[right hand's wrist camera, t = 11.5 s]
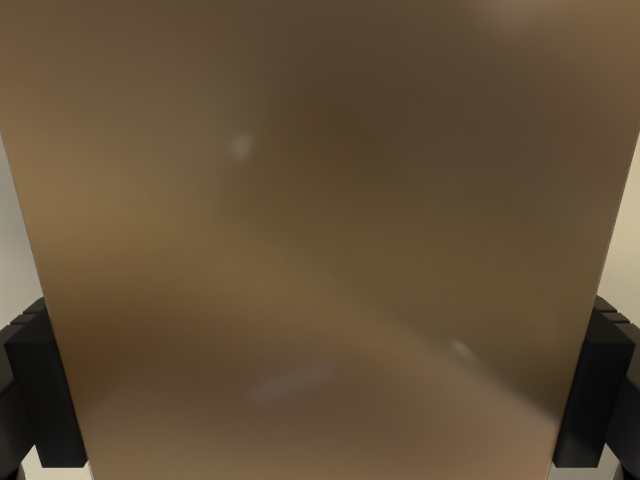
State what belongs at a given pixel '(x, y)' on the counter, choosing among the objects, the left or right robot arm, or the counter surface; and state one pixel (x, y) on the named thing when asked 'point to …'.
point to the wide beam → (319, 225)
